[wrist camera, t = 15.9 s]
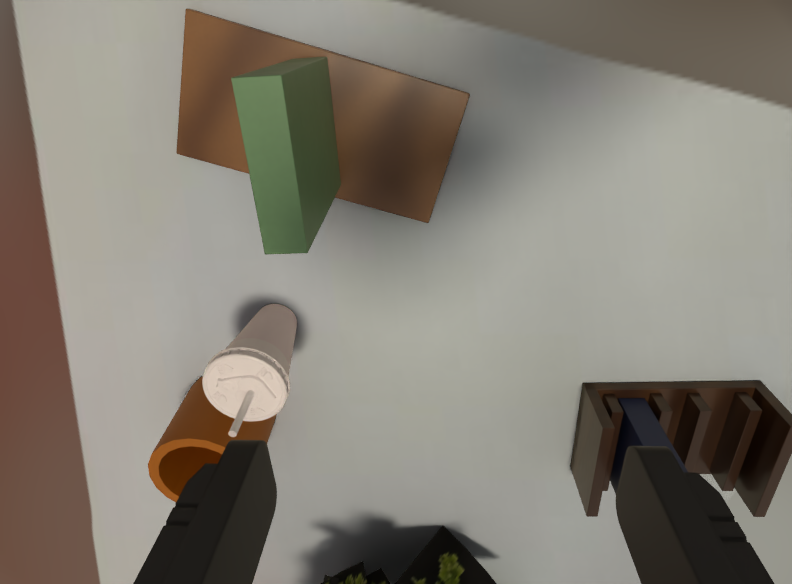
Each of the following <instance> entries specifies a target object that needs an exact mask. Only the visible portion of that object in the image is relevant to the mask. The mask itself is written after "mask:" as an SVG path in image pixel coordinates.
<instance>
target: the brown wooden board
mask: <svg viewBox="0 0 792 584" xmlns="http://www.w3.org/2000/svg"><path fill="white" fill-rule="evenodd" d="M312 57H327V59H328V69H329V78H330V87H331V96H332V106H333V115H334V124H335V133H336V143H337V152H338V161H339V171H340V180H341V186H340V188H339V190H338V192H337V194H336V196H335V198H339V199H343V200H346V201H350V202H354V203H357V204H361V205H364V206H368V207H372V208H375V209H379V210H382V211H386V212H390V213H393V214H397V215H401V216H404V217H408V218H411V219H415V220H419V221H422V222H426V223H429V220H430V217H431V214H432V211H433V207H434V204H435V201H436V198H437V195H438V192H439V189H440V186H441V183H442V180H443V177H444V173H445V170H446V167H447V164H448V161H449V158H450V155H451V152H452V149H453V146H454V143H455V139H456V136H457V133H458V130H459V127H460V124H461V121H462V118H463V115H464V112H465V109H466V105H467V102H468V99H469V96H470V94H469V93H467V92H464V91H460V90H457V89H454V88H450V87H447V86H444V85H440V84H437V83H434V82H430V81H427V80H424V79H420V78H417V77H414V76H411V75H407V74H404V73H401V72H397V71H394V70H391V69H387V68H384V67H381V66H377V65H374V64H371V63H367V62H364V61H361V60H358V59H354V58H351V57H348V56H344V55H341V54H338V53H334V52H331V51H328V50H324V49H321V48H318V47H314V46H311V45H308V44H305V43H301V42H298V41H295V40H291V39H288V38H285V37H281V36H278V35H275V34H271V33H268V32H265V31H261V30H258V29H255V28H252V27H248V26H245V25H242V24H238V23H235V22H232V21H228V20H225V19H222V18H218V17H215V16H212V15H208V14H205V13H202V12H199V11H195V10H192V9H186V14H185V30H184V45H183V61H182V76H181V92H180V107H179V123H178V139H177V154H180V155H184V156H187V157H191V158H194V159H198V160H202V161H205V162H209V163H212V164H216V165H220V166H223V167H227V168H231V169H234V170H238V171H241V172H245V173H249V169H248V164H247V158H246V153H245V148H244V143H243V138H242V132H241V127H240V122H239V117H238V112H237V106H236V101H235V96H234V91H233V86H232V80H231V78H232V77H235V76H239V75H242V74H245V73H248V72H252V71H255V70H258V69H261V68H265V67H268V66H271V65H274V64H278V63H281V62H284V61H287V60H291V59H295V58H312Z"/></svg>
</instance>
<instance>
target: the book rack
mask: <svg viewBox="0 0 792 584" xmlns="http://www.w3.org/2000/svg"><path fill="white" fill-rule="evenodd" d="M618 398H645V399H646V401H647V403H648V405H649V406H650V408H651V410H652V411H653V413H654V415H655V416H656V418H657V420H658V422H659V423H660V425H661V427H662V428H663V430H664V432H665V434H666V435H667V437H668V439H669V440H670V442H671V444H672V445H673V447H674V449H675V451H676V452H677V454H678V456H679V457H680V459H681V461H682V462H683V464H684V466H685V468H686V469H687V471H688V472H692V473H698V474H712V475H713V477H714V479H715V480H716V482H717V483H718V485H719V486H720V488H721V490H722V491H733V489H734V488H735V489H736V491H737V492H738V494H739V495H740V497H741V498H742V500H743V501H744V503H745V504H746V506H747V507H748V509H749V510H750V512H751V513H752V515H753V516H754V517H764V516H765V515H766V512H767V510H768V507H769V505H770V503H771V500H772V498H773V496H774V494H775V491H776V489H777V487H778V484H779V482H780V479H781V477H782V474H783V472H784V470H785V468H786V465H787V463H788V460H789V458H790V456H791V454H792V414H791V413H790V412H789V411H788V410H787V409H786V407H785V406H784V405H783V404H782V403H781V402H780V401H779V400H778V399H777V398H776V397H775V396H774V395H773V394H772V393H771V391H770V390H769V389H768V388H767V387H766V386H765V385H764V384H763V383H762V382H761V381H707V382H637V383H583V386H582V393H581V400H580V406H579V413H578V420H577V427H576V433H575V440H574V447H573V453H572V460H571V470H572V473H573V476H574V479H575V482H576V485H577V488H578V491H579V494H580V497H581V500H582V504H583V507H584V510H585V513H586V516H598V511H599V506H600V501H601V495H602V491H608V486H609V481H610V476H611V471H612V466H613V462H614V457H615V452H616V447H617V442H618V437H619V432H620V427H621V422H622V417H623V410H622V408H621V406H620V404H619V402H618Z"/></svg>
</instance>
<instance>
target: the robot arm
mask: <svg viewBox="0 0 792 584" xmlns="http://www.w3.org/2000/svg"><path fill="white" fill-rule="evenodd" d="M276 498H277V489H276V483H275V478H274V474H273V469H272V465H271V461H270V456H269V452H268V447H267V444H266V442H265V441H264V440H230V441H229V442H228V444H227V446H226V447H225V450H224V452H223V454H222V456H221V458H220V460H219V462H218V464H213V463H205V464H204V465H203V466H202V467H201V468H200V469H199V470H198V471H197V472H196V473H195V474H194V475H193V476H192V477H191V478H190V479H189V480H188V481H187V483H186V484H185V486H184V488H183V490H182V492H181V494H180V496H179V498H178V500H177V502H176V506H175V508H173V509H172V511H171V513H170V515H169V517H168V519H167V521H166V526H163V528H162V530H161V532H160V534H159V536H158V538H157V540H156V542H155V544H154V545H153V547H152V549H151V551H150V553H149V555H148V557H147V559H146V561H145V563H144V565H143V566H142V568H141V570H140V572H139V574H138V576H137V578H136V580H135V582H134V584H252V582H253V579H254V576H255V573H256V570H257V566H258V563H259V560H260V557H261V554H262V551H263V548H264V544H265V541H266V538H267V535H268V532H269V529H270V525H271V522H272V519H273V516H274V512H275V507H276ZM616 510H617V516H618V520H619V524H620V527H621V529H622V532H623V535H624V537H625V540H626V543H627V546H628V548H629V551H630V554H631V556H632V559H633V562H634V565H635V567H636V570H637V573H638V575H639V578H640V581H641V584H774V582H773V581H772V579H771V578H770V576H769V574H768V572H767V571H766V569H765V567H764V566H763V564H762V563H761V561H760V559H759V558H758V556H757V554H756V553H755V551H754V549H753V548H752V546H751V544H750V543H748V542H747V540H746V536H745V534H744V532H743V531H742V529H741V528H740V526H739V524H738V523H737V522H735V520H734V516H733V514H732V513H731V511H730V509H729V508H728V506H727V504H726V503H725V501H724V499H723V498H722V496H721V494H720V493H719V492H718V491H717V490H716V489H715V488H714V487H712V486H711V485H710V484H709V483H708V482H707V481H706V480H705V479H704V478H703V477H701V476H700V475H699V474H698V473H692V472H683V470H682V469H681V467H680V465H679V463H678V461H677V459H676V458H675V456H674V454H673V452H672V451H671V450H670V449H669V448H668V447H666V446H629V447H628V448H627V450H626V454H625V458H624V462H623V467H622V471H621V475H620V480H619V484H618V488H617V493H616Z"/></svg>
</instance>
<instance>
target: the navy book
mask: <svg viewBox="0 0 792 584" xmlns="http://www.w3.org/2000/svg"><path fill="white" fill-rule="evenodd" d="M618 402H619V404H620V406H621V408H622V410H623V417H622V422H621V427H620V432H619V437H618V442H617V447H616V452H615V457H614V462H613V466H612V471H611V476H610V481H611V484H612V486H613V488H614V491H615V493H617V488H618V484H619V480H620V475H621V471H622V467H623V462H624V458H625V454H626V450H627V448H628V447H629V446H666V447H668V448H669V449H670V450H671V451H672V452H673V454H674V456H675V458H676V459H677V461H678V463H679V465H680V467H681V469H682V470H683V472H688V471H687V469H686V468H685V466H684V464H683V462H682V461H681V459H680V457H679V456H678V454H677V452H676V451H675V449H674V447H673V445H672V444H671V442H670V440H669V439H668V437H667V435H666V434H665V432H664V430H663V428H662V427H661V425H660V423H659V422H658V420H657V418H656V416H655V415H654V413H653V411H652V410H651V408H650V406H649V405H648V403H647V401H646V399H645V398H618Z"/></svg>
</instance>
